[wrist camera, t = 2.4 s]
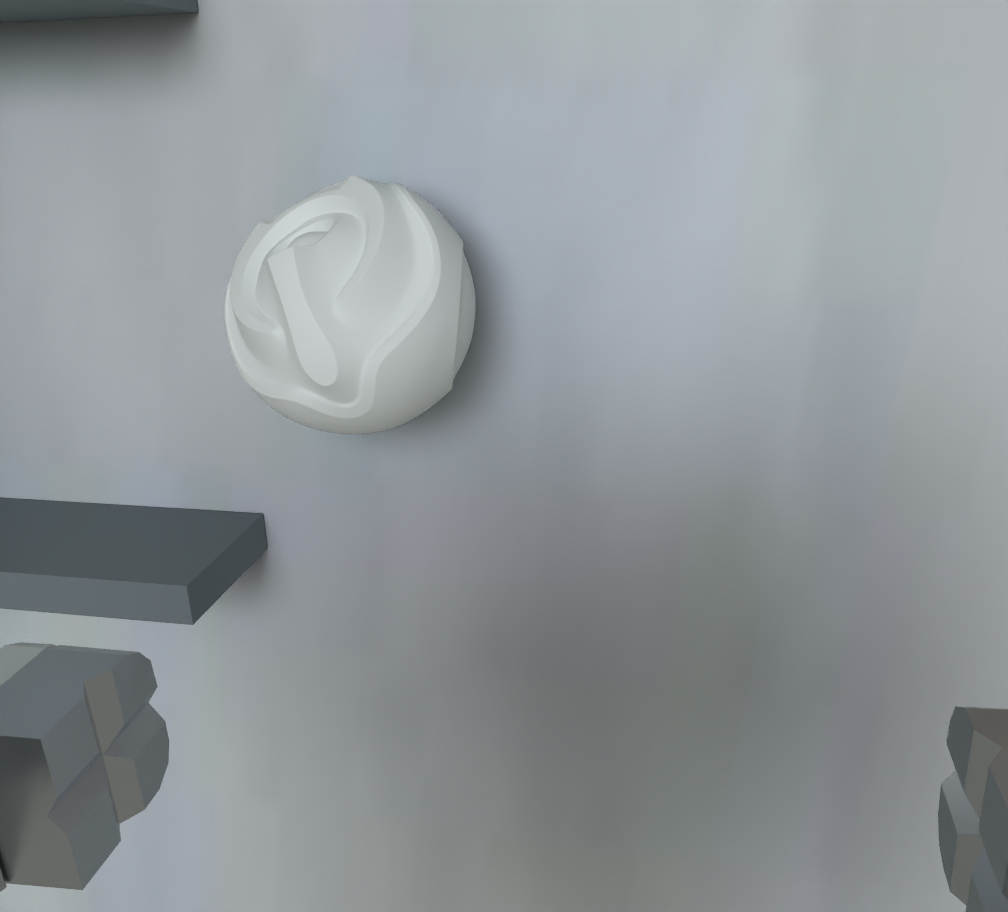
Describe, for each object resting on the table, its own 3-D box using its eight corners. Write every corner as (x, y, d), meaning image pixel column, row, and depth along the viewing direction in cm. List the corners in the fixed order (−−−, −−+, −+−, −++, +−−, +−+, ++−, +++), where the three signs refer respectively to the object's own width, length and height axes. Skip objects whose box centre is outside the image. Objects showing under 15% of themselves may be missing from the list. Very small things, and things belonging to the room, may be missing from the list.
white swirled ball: (445, 133, 31) (367, 145, 24) (540, 343, 33) (493, 412, 26) (249, 233, 33) (125, 270, 26) (346, 423, 35) (256, 505, 28)
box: (191, -39, 30) (78, -68, 25) (267, 547, 38) (193, 624, 32) (-186, -16, 33) (-362, -37, 28) (-47, 526, 41) (-164, 594, 35)
